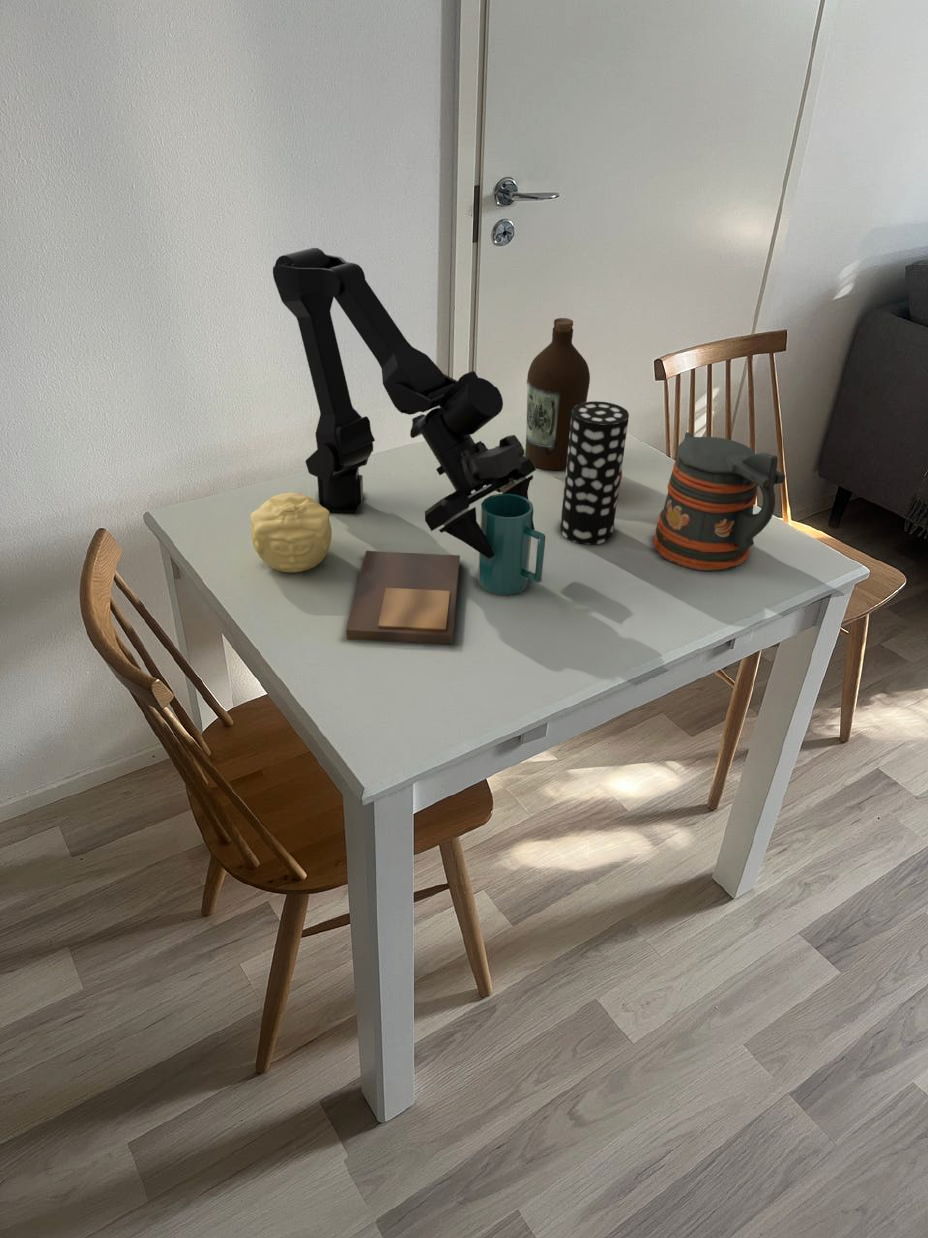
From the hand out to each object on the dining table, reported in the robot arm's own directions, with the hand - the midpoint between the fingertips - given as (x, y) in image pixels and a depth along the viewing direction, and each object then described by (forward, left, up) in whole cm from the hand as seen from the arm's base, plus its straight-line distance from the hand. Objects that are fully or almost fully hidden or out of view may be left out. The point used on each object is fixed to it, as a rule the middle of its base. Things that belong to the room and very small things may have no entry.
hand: (512, 544), depth 136 cm
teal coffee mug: (0, 0, -7) cm, 7 cm away
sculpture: (-32, +3, -7) cm, 33 cm away
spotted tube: (+12, +16, -7) cm, 22 cm away
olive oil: (+7, +41, -7) cm, 43 cm away
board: (-15, -5, -7) cm, 17 cm away
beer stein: (+31, +11, -7) cm, 34 cm away
